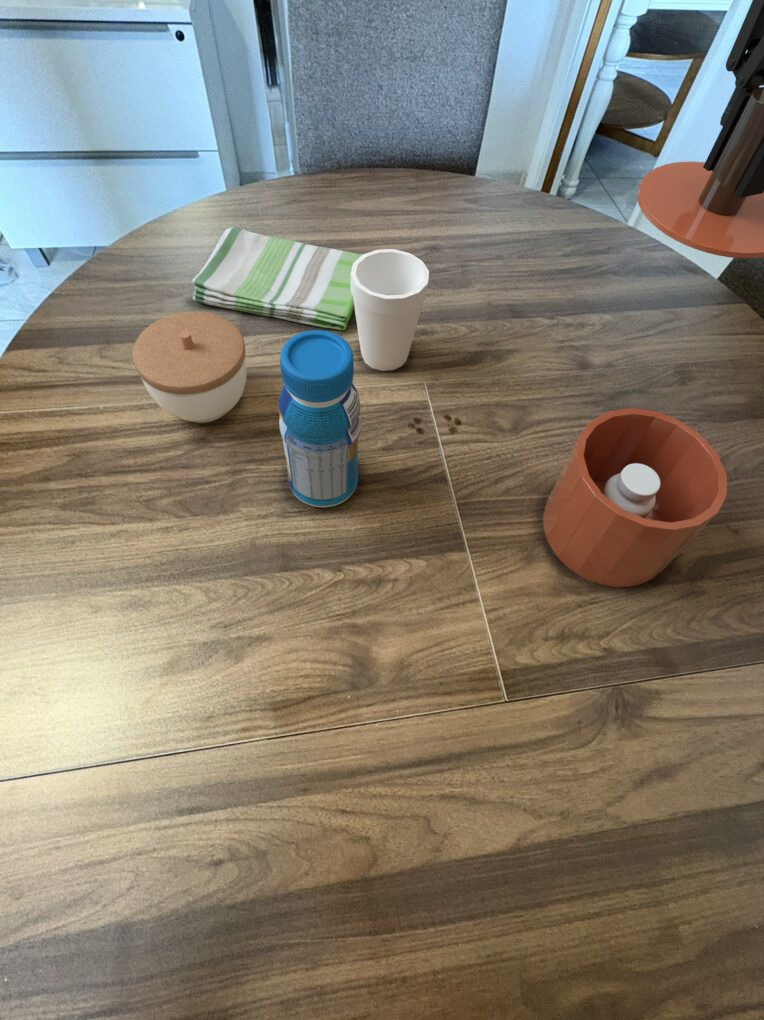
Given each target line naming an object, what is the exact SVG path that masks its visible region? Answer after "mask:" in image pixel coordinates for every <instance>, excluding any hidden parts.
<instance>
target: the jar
mask: <svg viewBox="0 0 764 1020" xmlns="http://www.w3.org/2000/svg"><path fill="white" fill-rule="evenodd" d="M634 463H639V464H643V465H646V466H648V467H650V468H652V469H653V470H654V471H655V472H656V473H657V475H658V476H659V478H660V488H659V490H658V491H657V493H656V494H655V496H656V501H655V505H654V507H653V509H652V510H651V511H650V513H649V514H648V515H647V516H646V517H645V518H642V517H640V516H638V515H635V514H633V513H630V512H628V511H626V510H623V509H621V508H620V507H619V506H618V505H616V504H615V503H614V502H612V501H611V500H610V499H609V498H607V497H606V496H605V495H603V494H602V493H601V490H602V488H603V487H604V485H605V484H606V482H607V481H608V480H609V479H610V478H611V477H612V476H614V475H616V474H619V473H621V471H622V470H623V469H624V468H625V467H626V466H627V465H629V464H634ZM727 496H728V475H727V472H726V470H725V466H724V465H723V463H722V461H721V458H720V456H719V454H718V451H716V450H715V449H714V447H713V446H712V445H711V444H710V443H709V442H708V441H707V439H705V438H704V436H703V435H702V434H700V433H699V432H698V431H696V430H695V429H694V428H692V427H690V426H688V425H687V424H686V423H684V422H682V420H679V419H677V418H675V417H672V416H669V415H667V414H664V413H661V412H658V411H655V410H650V409H649V410H648V409H642V408H634V407H630V408H622V409H616V410H610V411H606V412H605V413H603V414H602V415H599V416H598V417H595V418H594V419H592V420H590V421H589V422H588V424H587V425H586V426H585V428H584V429H583V431H581V433H580V434H579V436H578V437H577V439H576V442H575V443H574V445H573V447H572V450H571V452H570V453H569V456H568V457H567V459H566V461H565V463H564V465H563V468H562V469H561V471H560V474H559V475H558V477H557V480H556V481H555V484H554V485H553V487H552V489H551V491H550V494H549V495H548V498H547V499H546V502H545V506H544V510H543V513H542V516H543V517H542V526H543V531H544V535H545V538H546V540H547V543H548V545H549V547H550V548H551V550H552V551H553V553H554V554H555V556H556V557H557V558H558V559H559V560H560V561H561V563H562V564H564V565H565V566H566V567H567V568H569V570H571V571H572V572H574V573H575V574H576V575H578V576H580V577H582V578H583V579H585V580H587V581H590V582H592V583H595V584H598V585H602V586H606V587H613V588H614V587H615V588H629V587H630V588H631V587H634V586H639V585H641V584H644V583H646V582H648V581H651V580H652V579H654V578H655V577H657V575H659V574H660V573H661V572H663V571H664V570H665V569H666V568H667V567H668V566H669V565H670V564H671V563H672V562H673V560H674V559H676V557H678V555H679V554H680V553H681V552H682V551H683V550H684V549H685V548H686V547H687V546H688V545H689V544H690V543H691V542H692V541H693V540H694V539H695V537H696V536H698V534H699V533H701V531H702V530H703V529H704V528H705V527H706V525H708V524H709V523H710V522H711V521H712V519H713V518H715V516H716V515H717V514H718V513H719V511H720V509H721V507H722V506H723V503H724V502H725V500H726V499H727Z"/></svg>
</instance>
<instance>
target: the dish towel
mask: <svg viewBox="0 0 764 1020" xmlns="http://www.w3.org/2000/svg"><path fill="white" fill-rule="evenodd" d="M362 255H363V254H362V253H356V252H352V251H347V250H340V249H335V248H331V247H327V246H320V245H313V244H309V243H303V242H299V241H296V240H293V239H287V238H283V237H282V238H281V237H274V236H268V235H264V234H260V233H257V232H253V231H249V230H246V229H243V228H241V227H238V226H231V227H227V228H226V229H225V230H224V232H223V233H222V235H221V237H220V238H219V240H218V242H217V244H216V246H215V247H214V249H213V251H212V253H211V254H210V256H209V257H208V259H207V261H206V263H205V264H204V265H203V267H202V268H201V270H200V271H199V272H198V273H197V274H196V275H195V276H194V277H193V278H192V279H191V284H192V285H193V286H194V293H192V300H193V301H194V302H197V303H199V304H203V305H208V306H214V307H219V308H224V309H230V310H233V311H240V312H243V313H244V312H245V313H247V314H248V313H249V314H254V315H259V316H266V317H272V318H277V319H281V320H285V321H289V322H294V323H299V324H304V325H311V326H314V327H317V328H319V327H320V328H323V329H332V330H339V331H344V330H346V328H347V326H348V323H349V322H350V319H352V318H351V317H352V315H353V311H354V310H355V307H354V300H353V295H352V293H351V270H352V266H353V263H354V262H355V261H356V260H357V259H358V258H359V257H360V256H362Z"/></svg>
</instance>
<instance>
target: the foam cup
mask: <svg viewBox="0 0 764 1020" xmlns="http://www.w3.org/2000/svg"><path fill="white" fill-rule="evenodd" d="M429 277H430V270H429V269H428V267H427V266H426V264H425V263H424V261H423V260H422V259H420V258H418V257H417V256H415V255H414V254H412V253H410V252H407V251H402V250H399V249H395V248H388V249H387V248H386V249H383V248H382V249H375V250H372V251H369V252H367V253H363V254H362V256H360V257H359V258H358V259H357V260H356V261H355V262H354V263H353V266H352V270H351V293H352V295H353V300H354V313H355V321H356V327H357V334H358V341H359V348H360V353H361V357H362V359H363V361H364V363H365V364H366V365H367V366H369V367H370V368H371V369H374V370H378V371H382V372H385V371H394V370H397V369H399V368H401V367H402V366H403V365H404V364H405V363H406V362H407V360H408V358H409V354H410V351H411V347H412V343H413V340H414V336H415V334H416V330H417V326H418V322H419V319H420V315H421V312H422V309H423V305H424V303H425V301H426V300H427V294H428V285H429Z"/></svg>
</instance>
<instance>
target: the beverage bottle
mask: <svg viewBox="0 0 764 1020" xmlns="http://www.w3.org/2000/svg"><path fill="white" fill-rule="evenodd" d="M354 362H355V358H354V354H353V349H352V348H351V346H350V344H349V342H348V341H347V340H346V339H345V338H344V337H342V336H340V335H339V334H336V333H334V332H331V331H328V330H323V329H321V330H320V329H313V330H306V331H303V332H299V333H297V334H295V335H294V336H291V337H290V338H289V339H288V340H287V341H286V342H285V343H284V344H283V346H282V347H281V351H280V356H279V366H280V373H281V379H282V383H283V386H282V388H281V390H280V392H279V397H278V402H277V410H278V414H279V420H278V423H279V424H278V425H279V432H280V435H281V438H282V443H283V449H284V457H285V463H286V469H287V470H286V471H287V480H288V485H289V488H290V491H291V492H292V494H293V495H294V496H295V497H296V498H297V499H298V500H299V501H300V502H302V503H304V504H306V505H308V506H311V507H315V508H331V507H335V506H338V505H340V504H342V503H345V501H347V500H348V499H350V497H351V496H352V495H353V494H354V492H355V491H356V488H357V486H358V483H359V468H358V455H359V437H360V435H361V429H362V417H361V413H360V412H361V399H360V395H359V392H358V391H357V388H356V387H355V384H354V383H353V382H354V371H355V370H354V369H355V368H354V367H355V366H354Z"/></svg>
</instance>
